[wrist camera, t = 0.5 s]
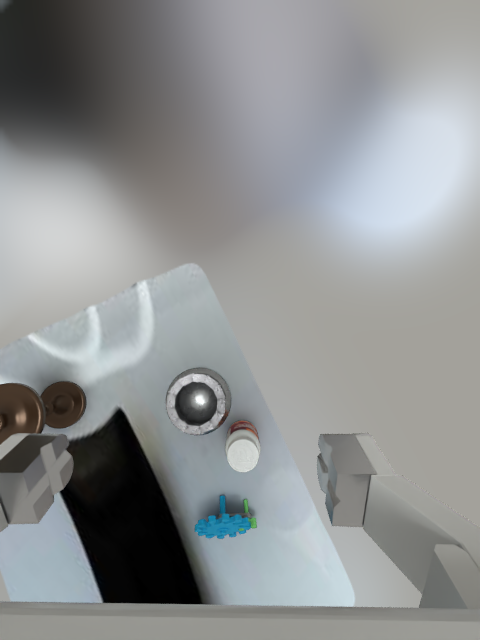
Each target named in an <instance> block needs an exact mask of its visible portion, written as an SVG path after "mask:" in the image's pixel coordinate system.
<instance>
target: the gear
mask: <svg viewBox="0 0 480 640" xmlns="http://www.w3.org/2000/svg"><path fill="white" fill-rule="evenodd" d="M244 512H245V513H226V514H225V496H220V514H219V515H218V519H216V516H215V515H213V516H208V522H206V520H205V519H201V520H199V521H198V524H196V525H195V532H198V535H199V536H203V535H206V538H212V537H214V536H217V538H219V539H223V538H224V536H225V535H227V534H229V537H236V532H239V534H244V533H246V530H249V529H250V528H256V527H257V525H256V518H251V513H248V501H247V500H244ZM250 522H251V524H250Z"/></svg>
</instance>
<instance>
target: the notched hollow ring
mask: <svg viewBox="0 0 480 640" xmlns="http://www.w3.org/2000/svg"><path fill="white" fill-rule="evenodd" d="M230 405H231V395H230V390H229V388H228V386H227V384H226V382H225V381H224V379H223V378H222V377H221V376H220V375H218V374H217V373H216V372H214V371H212V370H209V369H205V368H194V369H190V370H187V371H185V372H183V373H181V374H180V375H179V376H177V377H176V378H175V379H174V381H173V382H172V383H171V385H170V387H169V389H168V391H167V395H166V410H167V413H168V416H169V418H170V420H171V422H172V423H173V425H175V426H176V427H177V428H178V429H180V430H181V431H183V432H184V433H188V434H191V435H204V434H208V433H210V432H212V431H214V430H216V429H217V428H218V427H220V426H221V425H222V424H223V422H224V421H225V419H226V418H227V416H228V413H229V410H230Z"/></svg>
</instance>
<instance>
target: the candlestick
mask: <svg viewBox="0 0 480 640" xmlns="http://www.w3.org/2000/svg"><path fill="white" fill-rule="evenodd" d="M85 408H86V397H85V394H84V392H83V390H82V389H81V388H80V387H79V386H78V385H77V384H75V383H73V382H68V381H63V382H57V383H54V384H52V385H50V386H49V387H48V388H46V389H45V391H44V392H43V393H42V395H41V397H40V396H39V394H38V393H37V392H36V391H35V390H33V389H32V388H31V387H29V386H27V385H24V384H20V383H6V384H1V385H0V445H1V444H2V443H3V442H4V441H5V440H7V439H8V438H9V437H10V436H11V435H14V434H17V433H29V434H33V433H39V434H41V433H42V431H43V428H44V424H47V425H48V426H50V427H53V428H66V427H68V426H71V425H73V424H75V423H76V422H77V421H78V420H79V419H80V418H81V417H82V416H83V414H84V412H85Z"/></svg>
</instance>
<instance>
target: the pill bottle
mask: <svg viewBox="0 0 480 640" xmlns="http://www.w3.org/2000/svg"><path fill="white" fill-rule="evenodd" d="M260 450H261V448H260V442H259V438H258V433H257V430H256V428H255V427H254V426H253V425H252V424H251V423H250V422H248V421H237V422H235V423H234V424H232V425H231V427H230V428H229V430H228V433H227V439H226V445H225V452H226V456H227V459H228V462H229V464H230V466H231V467H232V468H233V469H234V470H236V471H238V472H248V471H250V470H252V469H253V468H254V467H255V466H256V464H257V462H258V459H259V455H260Z"/></svg>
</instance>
